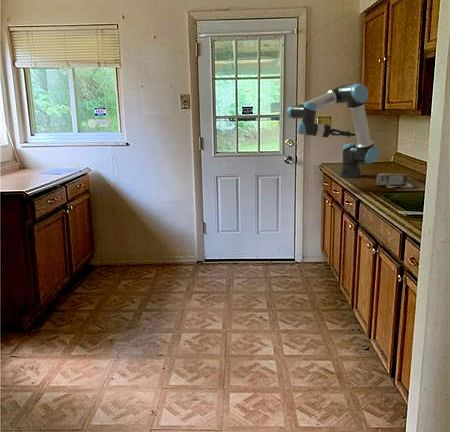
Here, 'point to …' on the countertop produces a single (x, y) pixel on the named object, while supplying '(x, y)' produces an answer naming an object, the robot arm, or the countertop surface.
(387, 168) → the countertop surface
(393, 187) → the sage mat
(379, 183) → the coffee box
